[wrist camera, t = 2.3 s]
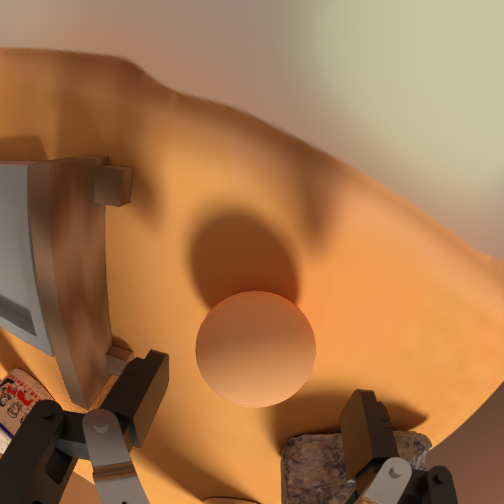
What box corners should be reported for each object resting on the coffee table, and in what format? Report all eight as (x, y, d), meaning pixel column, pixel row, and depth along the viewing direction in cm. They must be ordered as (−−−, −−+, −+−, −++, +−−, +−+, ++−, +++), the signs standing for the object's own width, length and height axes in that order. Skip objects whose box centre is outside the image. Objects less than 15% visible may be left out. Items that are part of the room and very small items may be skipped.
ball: (320, 344, 17) (331, 418, 11) (231, 363, 18) (214, 434, 13) (295, 258, 15) (302, 321, 10) (194, 286, 16) (156, 351, 11)
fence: (135, 374, 20) (109, 419, 15) (84, 355, 20) (54, 392, 15) (133, 158, 14) (77, 166, 10) (69, 154, 14) (11, 163, 10)
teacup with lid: (63, 399, 24) (15, 469, 13) (62, 426, 27) (26, 483, 16) (-6, 338, 22) (-60, 390, 12) (1, 374, 26) (-40, 421, 15)
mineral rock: (430, 424, 20) (457, 504, 10) (360, 474, 23) (367, 545, 14) (331, 396, 19) (344, 517, 9) (262, 454, 22) (251, 543, 13)
